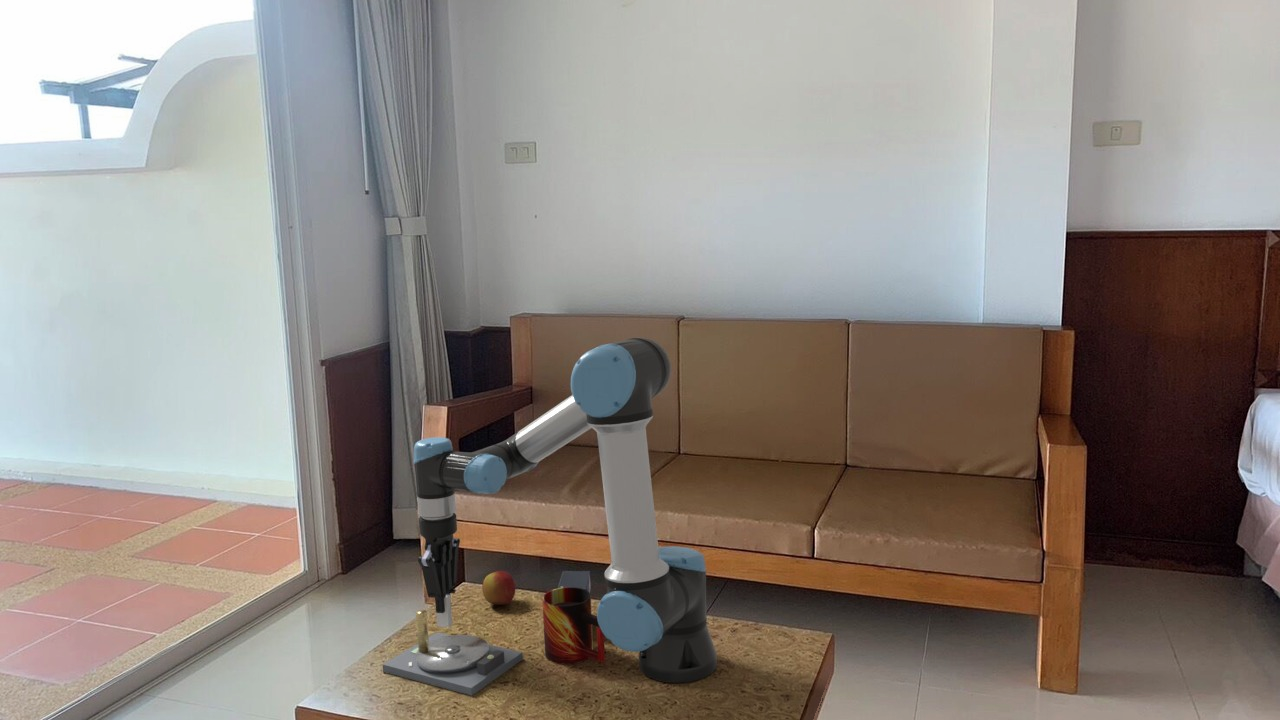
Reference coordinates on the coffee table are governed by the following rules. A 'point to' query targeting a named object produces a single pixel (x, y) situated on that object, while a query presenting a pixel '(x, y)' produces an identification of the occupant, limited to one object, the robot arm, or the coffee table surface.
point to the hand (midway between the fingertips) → (444, 625)
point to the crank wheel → (447, 649)
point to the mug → (570, 627)
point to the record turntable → (455, 681)
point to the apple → (499, 588)
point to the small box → (575, 580)
